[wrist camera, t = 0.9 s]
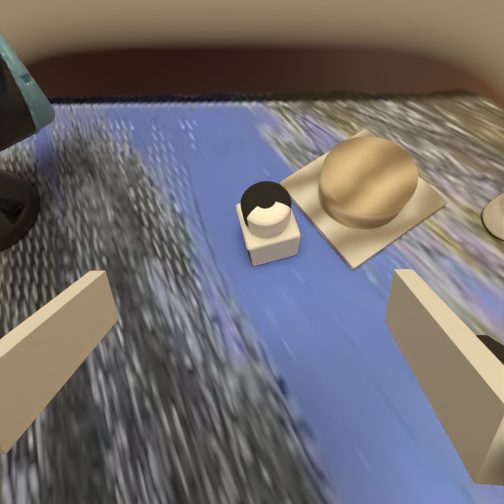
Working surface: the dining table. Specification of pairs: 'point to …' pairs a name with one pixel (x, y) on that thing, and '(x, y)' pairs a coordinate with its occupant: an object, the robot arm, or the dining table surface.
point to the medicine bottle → (268, 223)
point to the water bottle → (495, 216)
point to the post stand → (362, 196)
